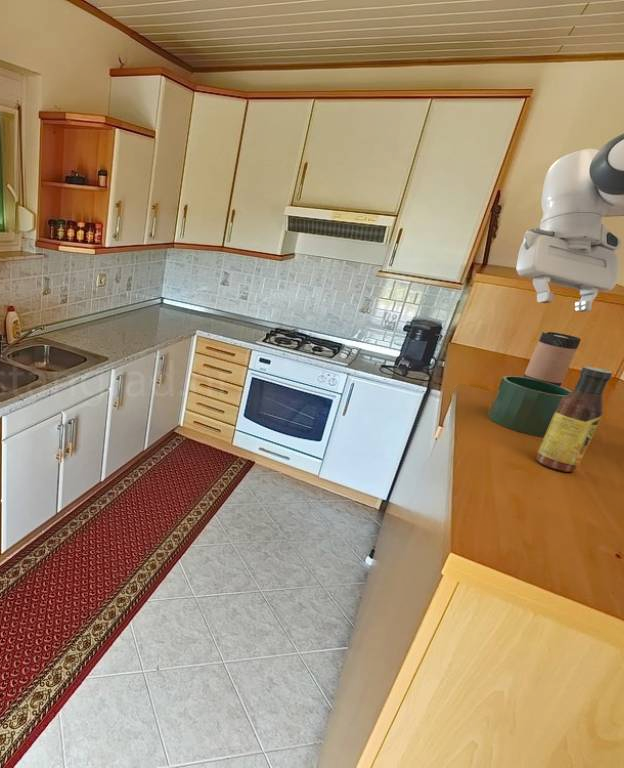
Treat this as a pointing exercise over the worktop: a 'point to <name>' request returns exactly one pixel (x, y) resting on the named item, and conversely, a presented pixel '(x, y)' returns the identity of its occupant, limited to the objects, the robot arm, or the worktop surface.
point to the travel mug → (552, 357)
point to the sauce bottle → (574, 422)
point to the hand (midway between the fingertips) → (564, 306)
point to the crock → (526, 404)
